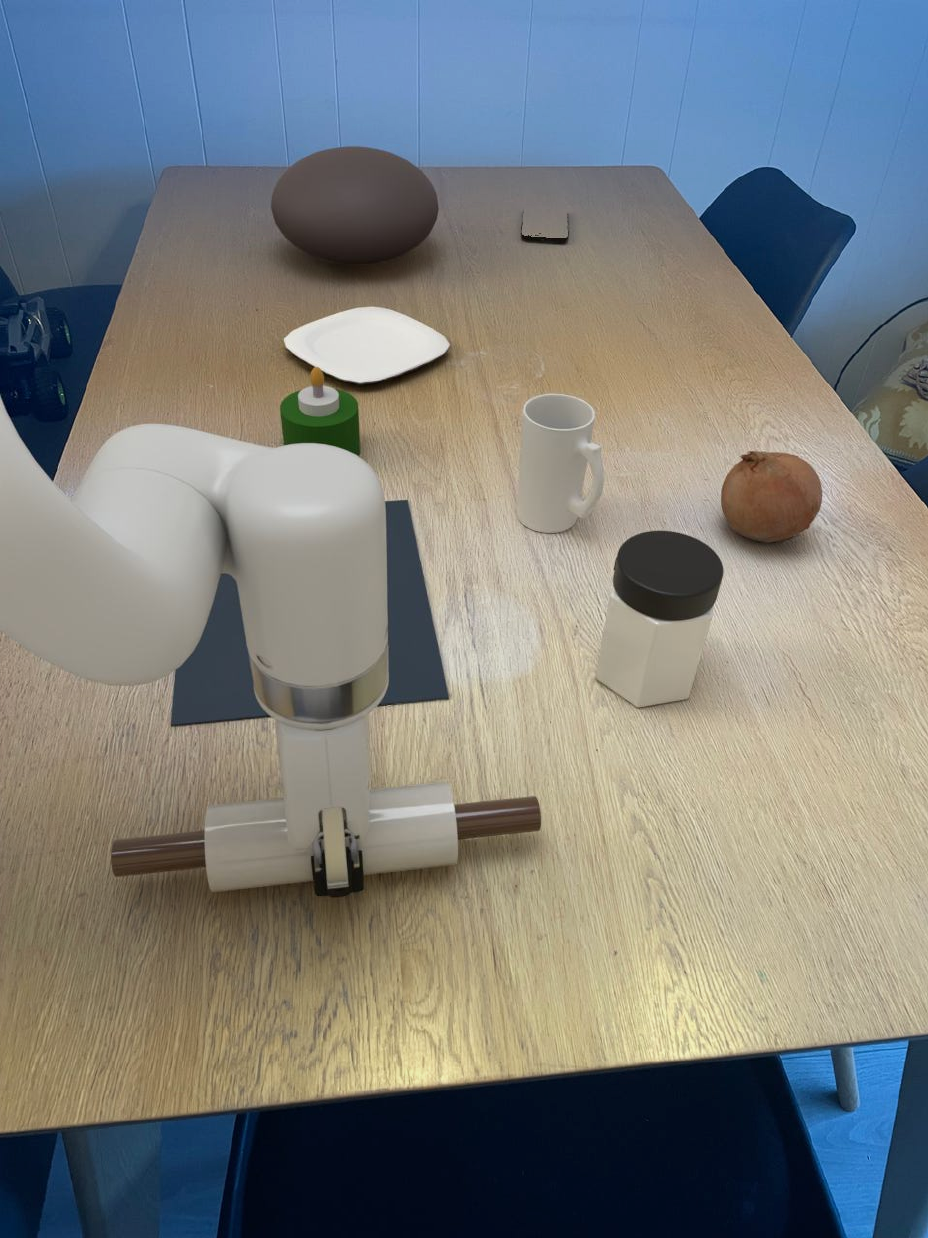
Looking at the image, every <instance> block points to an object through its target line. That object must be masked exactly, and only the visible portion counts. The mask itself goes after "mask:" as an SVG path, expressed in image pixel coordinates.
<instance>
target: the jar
mask: <svg viewBox="0 0 928 1238" xmlns="http://www.w3.org/2000/svg"><path fill="white" fill-rule="evenodd" d="M724 572H725V571H724V564H723V561H722V559H721V558H720V556H719V555H718V553H717V552H716V551H715V550H714V549H713V548H712V547H710V546H709V545H708V544H706V543H705V542H704V541H702V540H700V539H698V538H696V537H694V536H692V535H688V534H685V533H681V532H678V531H672V530H649V531H643V532H640V533H637V534H634V535H633V536H631V537H629V538H628V539H626V540H625V541H624V542H623V543H622V544H621V545H620V546H619V549H618V551H617V555H616V557H615V560H614V566H613V576H612V586H611V587H612V588H611V591H610V595H609V599H608V605H607V609H606V610H607V611H606V616H605V622H604V627H603V631H602V632H603V633H602V637H601V643H600V648H599V654H598V660H597V663H596V664H597V665H596V670H595V675H594V676H595V677H594V678H595V679H596V680H597V681H598V682H600V683H601V684H603V685H604V686H605V687H607V688H608V689H609V690H611V691H613V692H614V693H616V694H617V695H619V696H620V697H621V698H623V699H624V700H626V701H627V702H628V703H630V704H631V705H633V706H634V707H636V708H644V707H650V706H655V705H661V704H668V703H672V702H673V703H674V702H678V701H685V700H688V699H689V698H690V695H691V693H692V688H693V685H694V681H695V678H696V674H697V671H698V668H699V665H700V660H701V658H702V655H703V651H704V647H705V643H706V641H707V638H708V637H707V636H708V634H709V629H710V627H711V622H712V619H713V615H714V606H715V603H716V602H717V600H718V596H719V592H720V588H721V586H722V582H723V578H724Z"/></svg>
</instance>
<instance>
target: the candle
mask: <svg viewBox="0 0 928 1238" xmlns="http://www.w3.org/2000/svg"><path fill="white" fill-rule="evenodd" d="M309 379H310V380H309V381H310V384H311V386H307V387H304V388H303V389H300V390H297V391H294V392H292V393H290V394H288V395H287V396H285V398H283V400H282V401H281V403H280V405H279V413H280V422H281V431H282V442H283V446H284V445H290V444H299V443H317V444H326V445H331V446H335V447H338V448H341V449H344V450H347V451H349V452H351V453H353V454H355V455H357V456H359V457H360V454H361V437H360V414H359V413H360V411H359V402H358V400H357V399H356V397H355V396H354V395H352V394H351V393H350V392H347V391H345V390H342V389H338V388H333V387H331V386H328V385H324V382H325V374H324V373H323V372H322V371H321V369H320V368H319V367H312V370H311V371H310V376H309Z"/></svg>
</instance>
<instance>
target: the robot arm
mask: <svg viewBox="0 0 928 1238" xmlns="http://www.w3.org/2000/svg"><path fill="white" fill-rule="evenodd" d="M385 501H386V498H385V492H384V488H383V484H382V482H381V480H380V479H379V477H378V475H377V472H376V471H375V470H374V469H373V468H372V466H370V465H369V464H368V463H367V461H366V460H365V459H363V458H361V456H360V455H359V456H357V455H355V454H353V453H351V452H349V451H347V450H344V449H341V448H338V447H335V446H331V445H326V444H317V443H299V444H290V445H284V444H283V445H279V446H275V447H272V446H267V445H262V444H257V443H252V442H248V441H244V440H239V439H235V438H231V437H227V436H222V435H220V434H219V435H218V434H215V433H211V432H206V431H203V430H200V429H195V428H190V427H186V426H181V425H175V424H167V423H141V424H135V425H131V426H128V427H125V428H123V429H121V430H118V431H117V432H116V433H114V434H112V435H111V436H110V437H109V438H108V439H107V440H106V441H104V443H103V444H102V445H101V447H100V448H99V449H98V451H97V452H96V453H95V455H94V456H93V459H92V460H91V462H90V464H89V466H88V467H87V470H86V472H85V473H84V475H83V477H82V479H81V481H80V483H79V485H78V487H77V488H76V490H75V492H74V494H73V496H72V498H71V499H70V498H69V497H68V496H67V495H66V493H64V492H63V491H62V490H61V489H60V488H59V486H58V485H57V484H56V483H54V481H53V480H52V479H51V478H50V476H49V475H48V474H47V472H45V470H44V469H43V468H42V466H41V465H40V464H39V463H38V462H37V460H36V459H35V458H34V456H33V454H32V453H31V451H30V450H29V449H28V446H26V444H25V442H24V441H23V440H22V438H21V437H20V435H19V432H18V431H17V429H16V427H15V425H14V423H13V421H12V418H11V417H10V416H9V414H8V411H7V409H6V406H5V404H4V401H3V399H2V397H1V395H0V632H1V633H3V634H4V635H5V636H7V637H8V638H9V639H11V640H13V641H14V642H15V643H17V644H19V645H20V646H21V647H23V648H24V649H25V650H27V651H28V652H30V653H32V654H34V655H35V656H37V657H38V658H40V659H42V660H44V661H45V662H47V663H48V664H50V665H53V666H54V667H56V668H58V669H60V670H62V671H64V672H67V673H68V674H70V675H73V676H76V677H78V678H81V679H84V680H87V681H89V682H93V683H98V684H102V685H106V686H107V685H108V686H116V687H117V686H118V687H134V686H140V685H141V686H142V685H147V684H151V683H153V682H156V681H158V680H159V681H160V680H161V679H163V678H166V677H168V676H169V675H170V674H172V673H173V672H175V670H176V669H177V668H179V667H180V666H181V665H182V664H183V663H184V662H185V661H186V659H187V658H188V657H189V656H190V655H191V654H192V652H193V651H194V650H195V648H196V646H197V644H198V643H199V641H200V638H201V636H202V633H203V631H204V628H205V625H206V623H207V620H208V617H209V614H210V610H211V607H212V604H213V601H214V597H215V594H216V590H217V586H218V583H219V579H220V576H221V574H222V573H227V574H229V575H231V576H232V577H233V578H234V579H235V580H236V583H237V587H238V593H239V599H240V606H241V612H242V618H243V624H244V631H245V637H246V643H247V649H248V655H249V662H250V668H251V674H252V680H253V686H254V692H255V696H256V698H257V701H258V702H259V704H260V706H261V707H262V708H263V710H265V711H266V712H267V713H268V714H269V715H270V717H271V718H273V719H274V724H275V725H274V726H275V739H276V746H277V747H276V749H277V757H278V764H279V773H280V781H281V782H280V783H281V789H282V798H283V799H284V807H285V817H286V826H287V837H288V843H289V844H290V846H291V847H292V848H294V849H295V850H298V849H309V848H310V847H311V845H312V844H313V853H314V856H311V866H312V875H313V881H312V882H313V890H314V895H315V897H318V898H319V897H320V898H321V897H323V898H324V897H329V898H332V899H338V898H345V897H348V896H350V895H351V894H356V893H362V892H363V891H364V890H365V875H364V874H363V856H362V850H360V851H359V850H358V839H359V841H360V842H362V841H363V840H364V839H365V838H366V836H367V835H368V832H369V807H370V789H371V742H370V741H371V733H370V732H371V731H370V730H371V729H370V713H371V712H373V710H375V709H376V708H377V707H379V706H378V704H379V703H380V702H381V700H382V699H383V697H384V695H385V693H386V691H387V688H388V683H389V657H388V613H387V550H386V508H385ZM343 818H345V819H343ZM321 820H322V821H321ZM345 837H349V844H350V850H349V847H345ZM322 839H324V850H323V853H322V842H321V840H322Z"/></svg>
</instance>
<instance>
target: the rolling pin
mask: <svg viewBox="0 0 928 1238" xmlns="http://www.w3.org/2000/svg"><path fill="white" fill-rule="evenodd" d="M343 819H345V818H343ZM321 821H322V820H321ZM541 828H542V811H541V806H540V802H539V799H538V797H537V796H536V795H531V796H530V795H529V796H520V797H511V798H502V799H501V798H500V799H491V800H483V801H473V802H472V801H471V802H463V803H455V800H454V795H453V791H452V787H451V784H450V782H449V781H448V780H445V781H435V782H434V781H433V782H425V783H414V784H406V785H405V784H404V785H394V786H385V787H384V786H383V787H374V788H370V807H369V832H368V835H367V836H366V838H365V839H364V840H363V841H362V842H360V841H359V839H358V850H359V851H360V850H362V856H363V874H364V876H369V875H378V874H386V873H387V874H388V873H396V872H405V871H412V870H413V871H414V870H422V869H431V868H439V867H448V866H455V865H457V863H458V859H459V841H462V840H470V839H480V838H489V837H498V836H499V837H500V836H505V835H506V836H508V835H515V834H517V835H518V834H524V833H525V834H526V833H536V832H540V831H541V830H542V829H541ZM321 842H322V853H323V850H324V839H322V840H321ZM111 844H112V845H111V851H110V863H111V870H112V874H113V876H114V877H115V878H125V877H132V876H142V875H150V874H151V875H152V874H160V873H169V872H170V873H171V872H178V871H179V872H180V871H188V870H196V869H206V878H207V882H208V887H209V890H210V891H211V892H212V893H219V892H229V891H238V890H245V889H253V888H255V889H256V888H263V887H272V886H280V885H290V884H298V883H299V884H300V883H305V882H306V883H308V882H313V875H312V866H311V856H314V853H313V844H312V845H311V847H310V848H309V849H298V850H295V849H294V848H292V847H291V846H290V844H289V843H288V837H287V826H286V817H285V807H284V799H283V797H275V798H274V797H273V798H266V799H265V798H264V799H254V800H244V801H234V802H225V803H223V802H222V803H214V804H208V805H207V806H206V810H205V816H204V829H201V830H192V831H184V832H173V833H172V832H171V833H163V834H153V835H144V836H136V837H125V838H116V839H114V840H113V841H112V843H111ZM345 847H349V850H350V844H349V837H345Z"/></svg>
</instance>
